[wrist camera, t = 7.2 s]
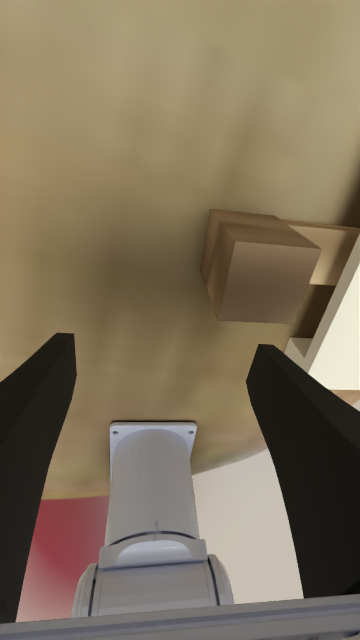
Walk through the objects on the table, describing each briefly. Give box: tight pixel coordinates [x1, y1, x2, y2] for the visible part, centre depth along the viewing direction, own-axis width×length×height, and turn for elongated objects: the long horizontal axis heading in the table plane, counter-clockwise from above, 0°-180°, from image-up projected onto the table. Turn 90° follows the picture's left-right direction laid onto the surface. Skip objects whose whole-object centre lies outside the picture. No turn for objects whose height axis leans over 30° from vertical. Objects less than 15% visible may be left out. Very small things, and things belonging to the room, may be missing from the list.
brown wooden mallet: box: [200, 209, 360, 324], centre depth 17 cm, size 4×16×6 cm, turn 83°
